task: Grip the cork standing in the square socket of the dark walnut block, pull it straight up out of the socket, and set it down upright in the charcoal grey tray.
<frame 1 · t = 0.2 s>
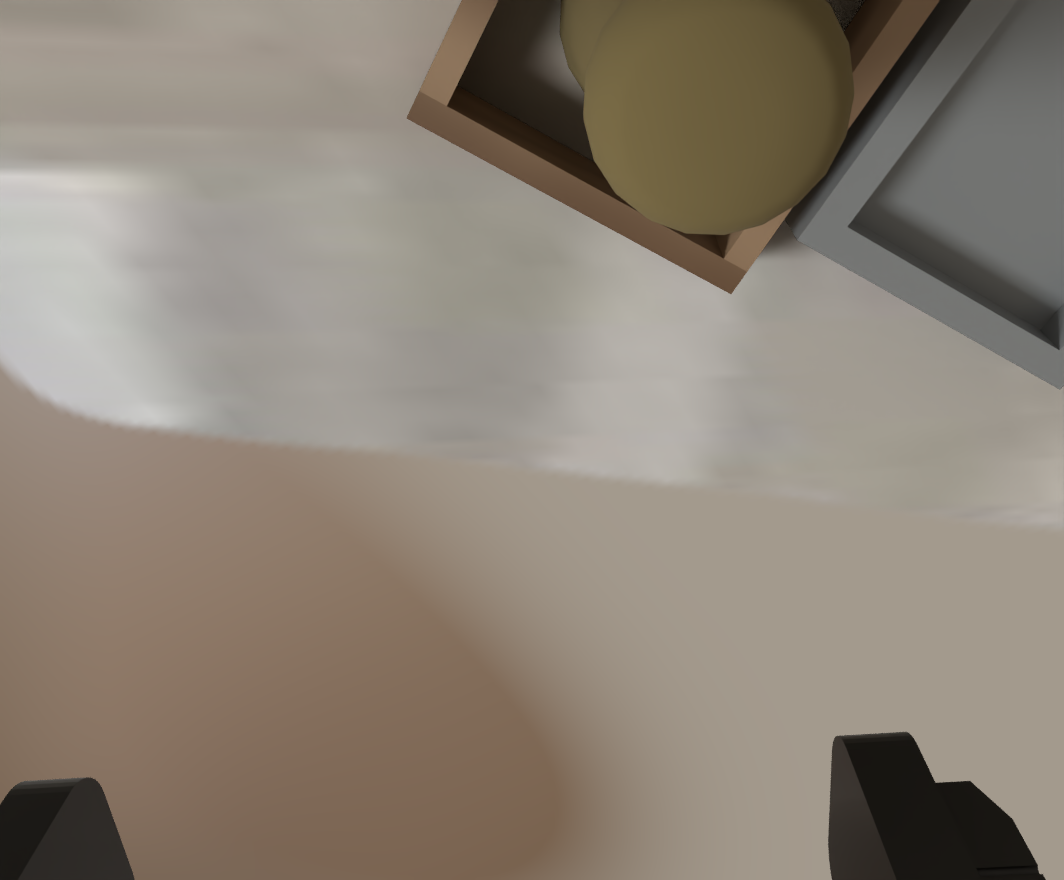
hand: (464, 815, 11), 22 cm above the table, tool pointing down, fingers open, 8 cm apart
tray: (1049, 118, 29), on the table
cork: (668, 17, 27), resting in socket block
socket block: (669, 19, 27), on the table
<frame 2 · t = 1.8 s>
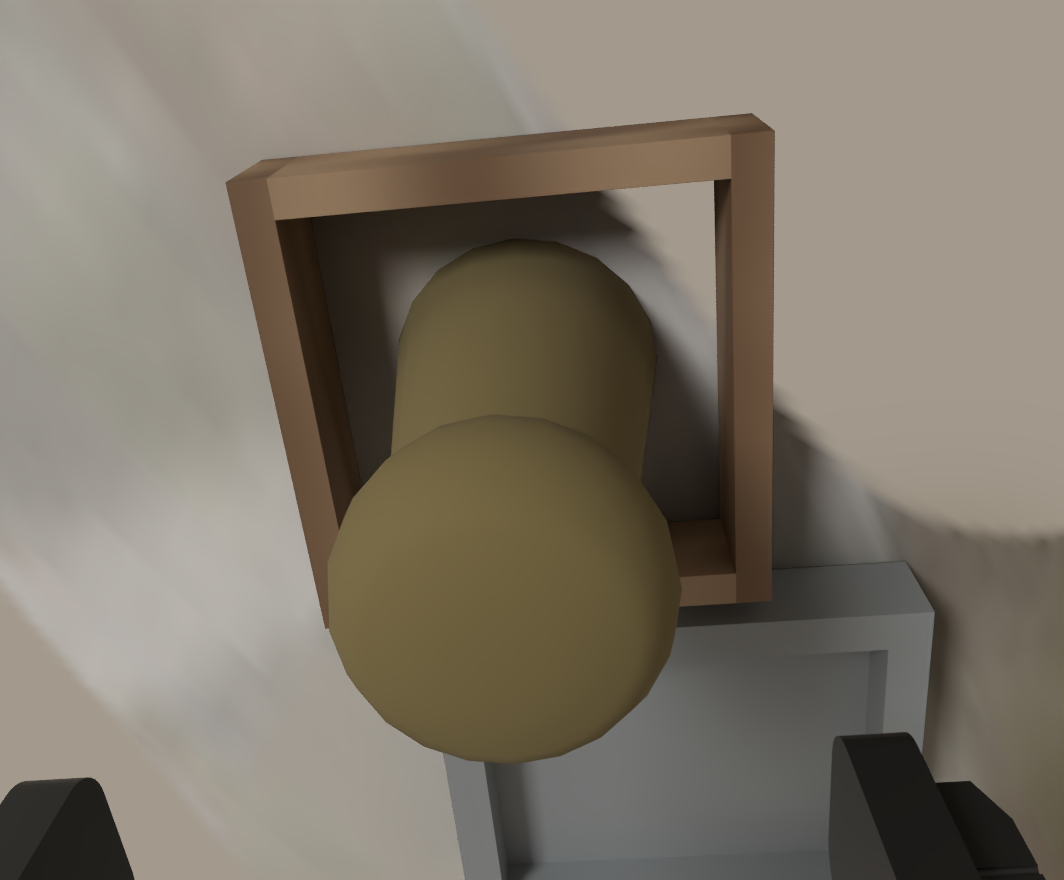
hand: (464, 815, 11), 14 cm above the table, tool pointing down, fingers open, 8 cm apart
tray: (673, 728, 28), on the table
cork: (527, 363, 23), resting in socket block
socket block: (526, 367, 23), on the table
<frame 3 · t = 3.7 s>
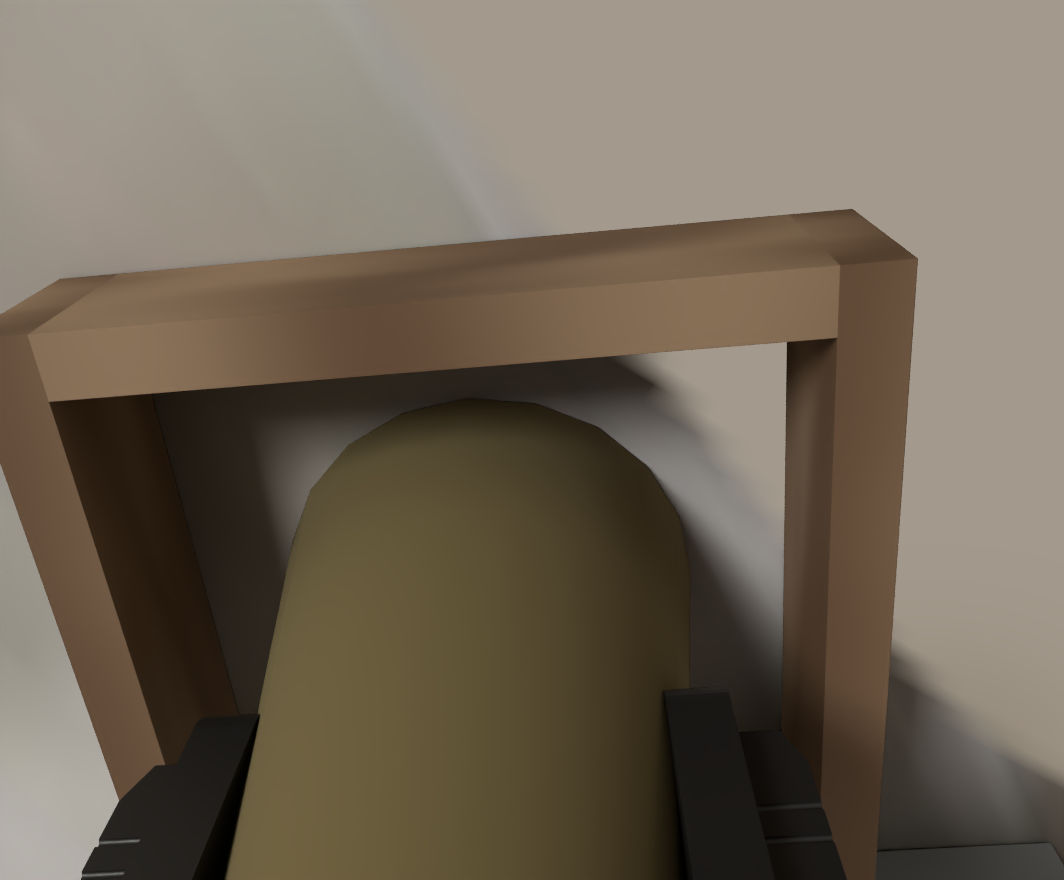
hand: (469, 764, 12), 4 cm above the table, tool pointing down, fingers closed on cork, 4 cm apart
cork: (490, 575, 15), resting in socket block, touching gripper
socket block: (491, 582, 15), on the table
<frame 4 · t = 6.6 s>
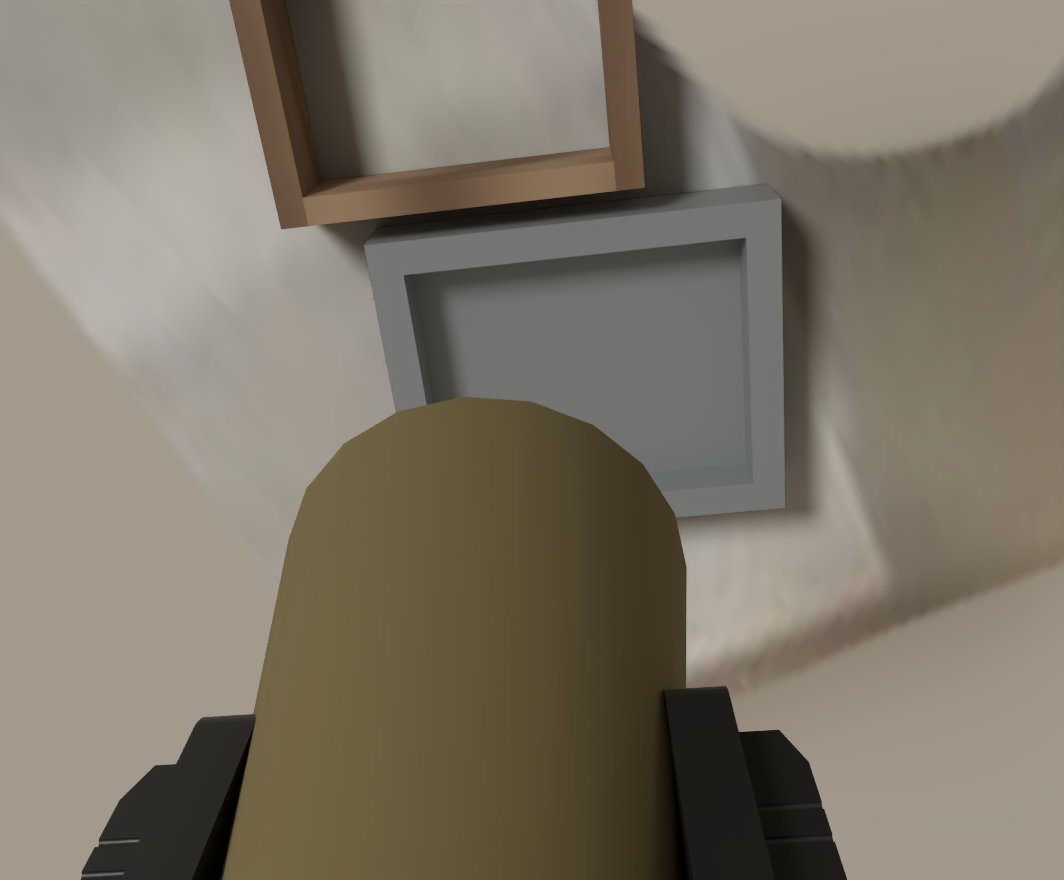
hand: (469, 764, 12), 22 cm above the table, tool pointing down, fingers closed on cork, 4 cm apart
tray: (584, 358, 32), on the table
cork: (487, 573, 15), point 18 cm above the table, touching gripper
socket block: (441, 6, 28), on the table
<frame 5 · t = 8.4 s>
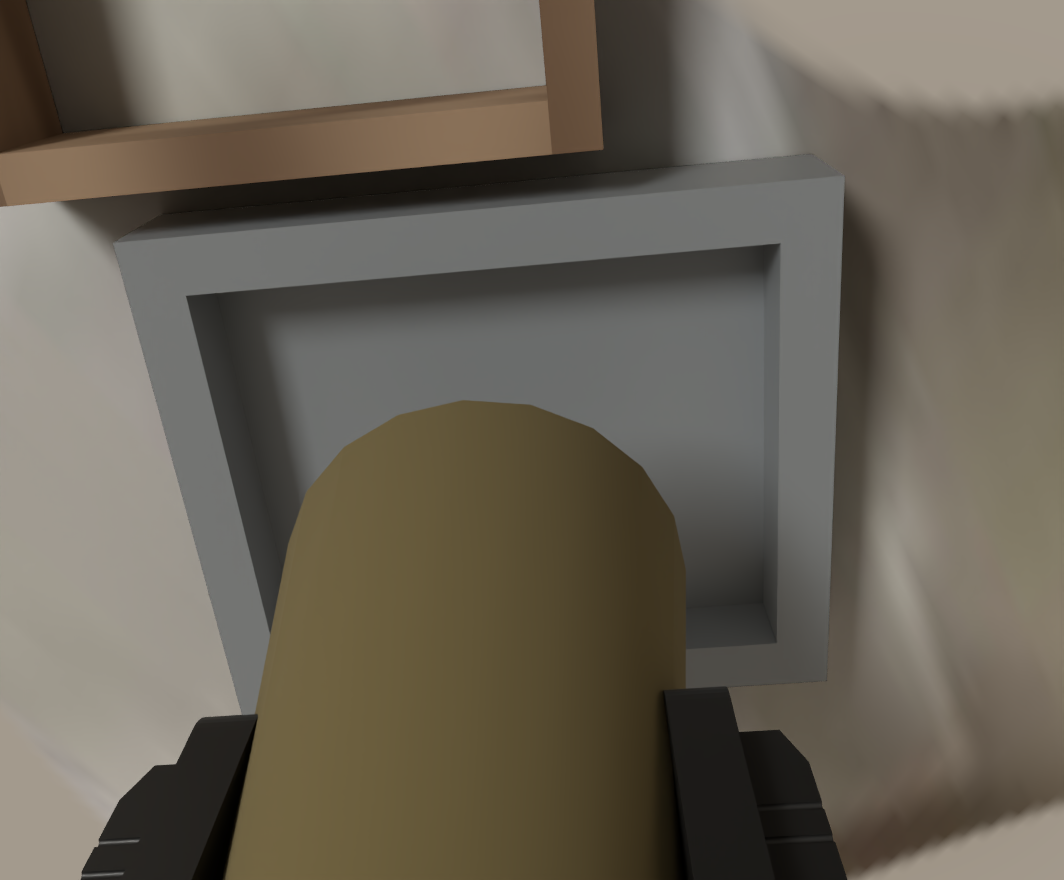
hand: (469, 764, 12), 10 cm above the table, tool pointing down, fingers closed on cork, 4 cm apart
tray: (508, 433, 20), on the table
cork: (486, 576, 15), point 5 cm above the table, touching gripper
when the fingers open (6 cm above the table, at t = 10.0 s): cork stays where it is, resting on tray.
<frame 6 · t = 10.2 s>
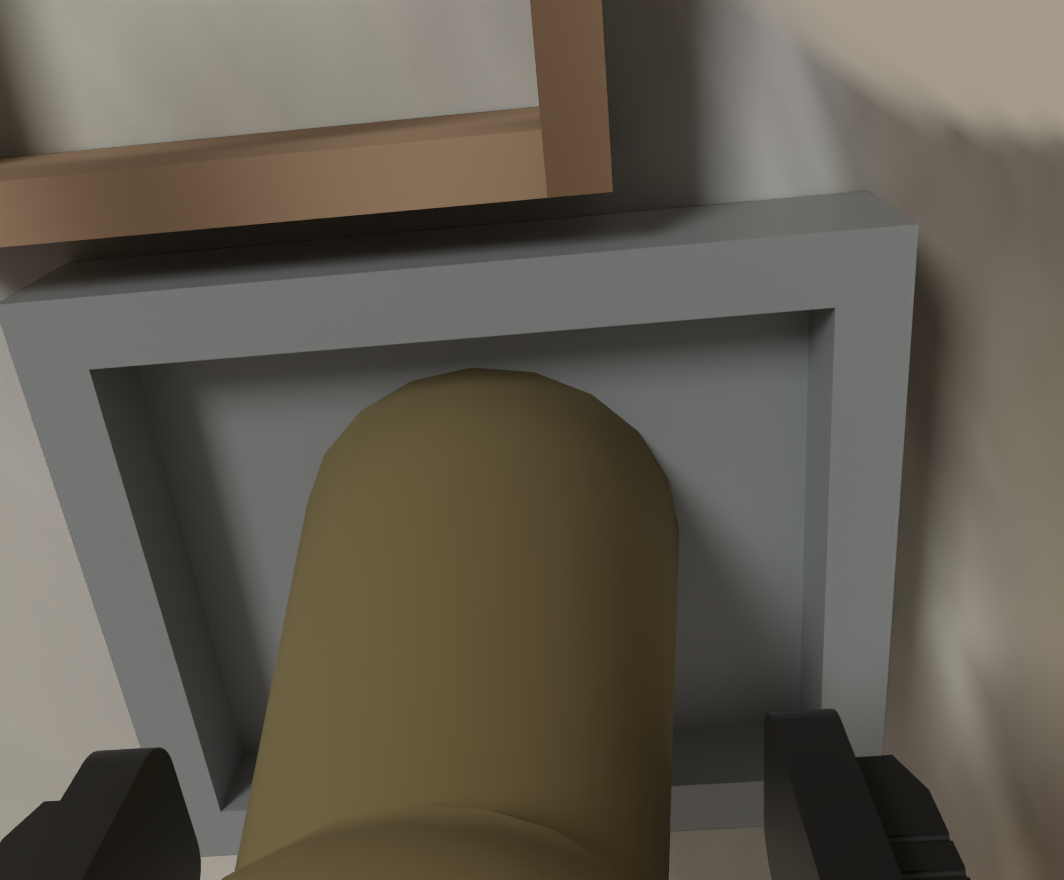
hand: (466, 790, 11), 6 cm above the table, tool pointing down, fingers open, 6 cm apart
tray: (495, 520, 17), on the table
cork: (492, 535, 16), point 1 cm above the table, touching tray
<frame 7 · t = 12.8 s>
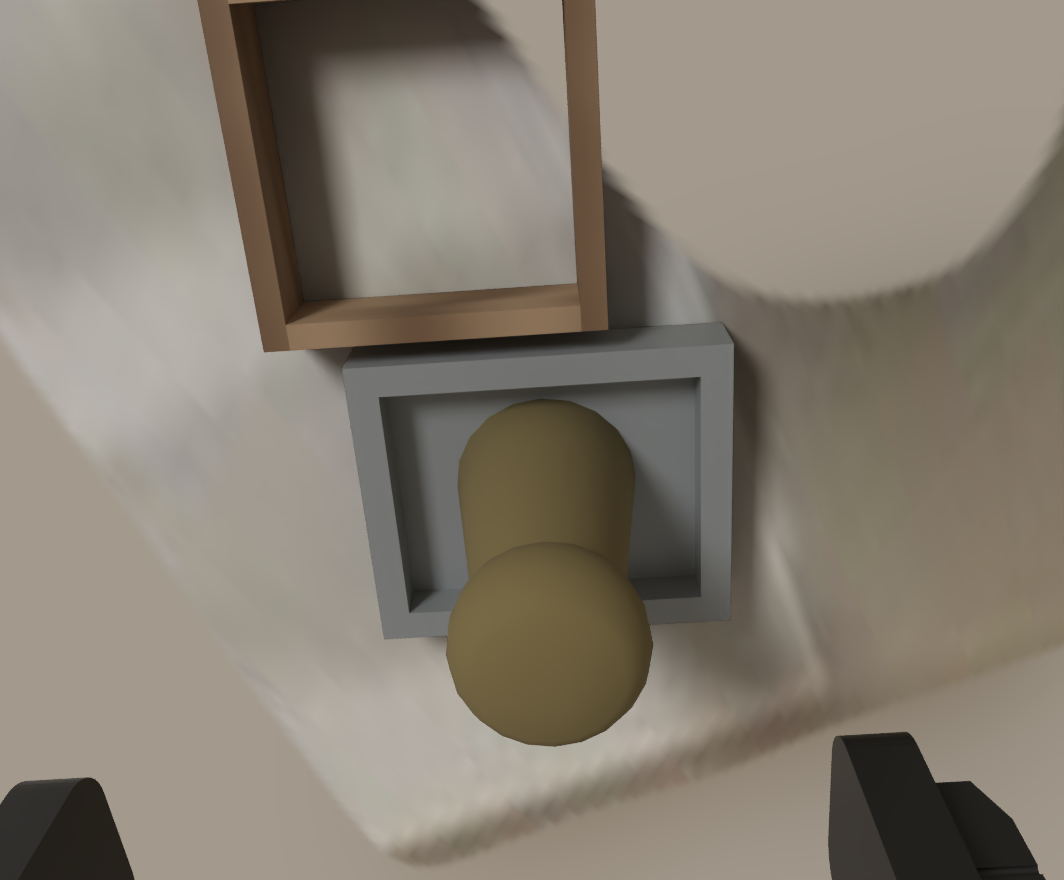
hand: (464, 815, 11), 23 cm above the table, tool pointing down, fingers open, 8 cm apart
tray: (546, 472, 34), on the table
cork: (546, 478, 34), point 1 cm above the table, touching tray
socket block: (424, 151, 30), on the table
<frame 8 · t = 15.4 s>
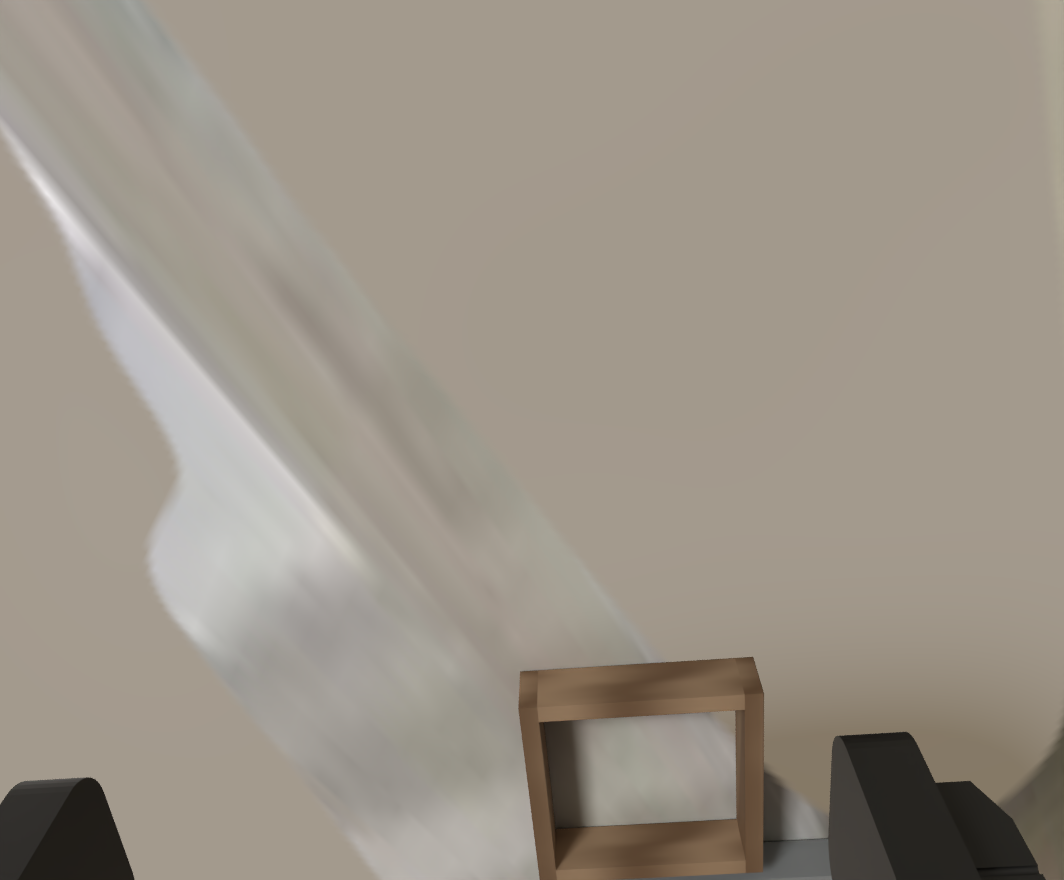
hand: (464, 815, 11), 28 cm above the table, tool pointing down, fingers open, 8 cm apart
socket block: (641, 754, 47), on the table
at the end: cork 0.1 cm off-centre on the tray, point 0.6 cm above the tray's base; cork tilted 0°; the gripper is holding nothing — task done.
